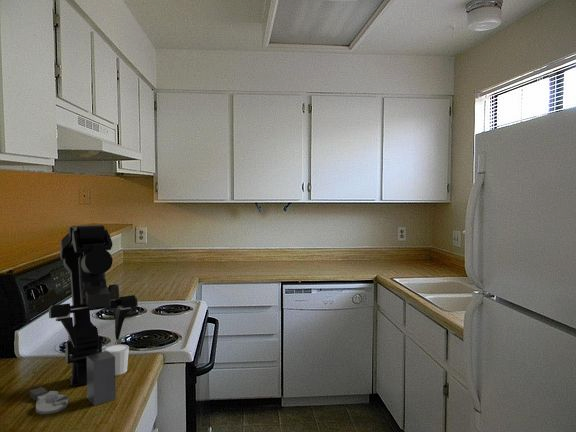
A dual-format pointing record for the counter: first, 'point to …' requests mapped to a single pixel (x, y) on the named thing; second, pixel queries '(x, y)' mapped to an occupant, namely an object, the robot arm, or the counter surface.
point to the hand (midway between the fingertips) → (96, 343)
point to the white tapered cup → (119, 357)
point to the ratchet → (48, 401)
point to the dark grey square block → (101, 378)
